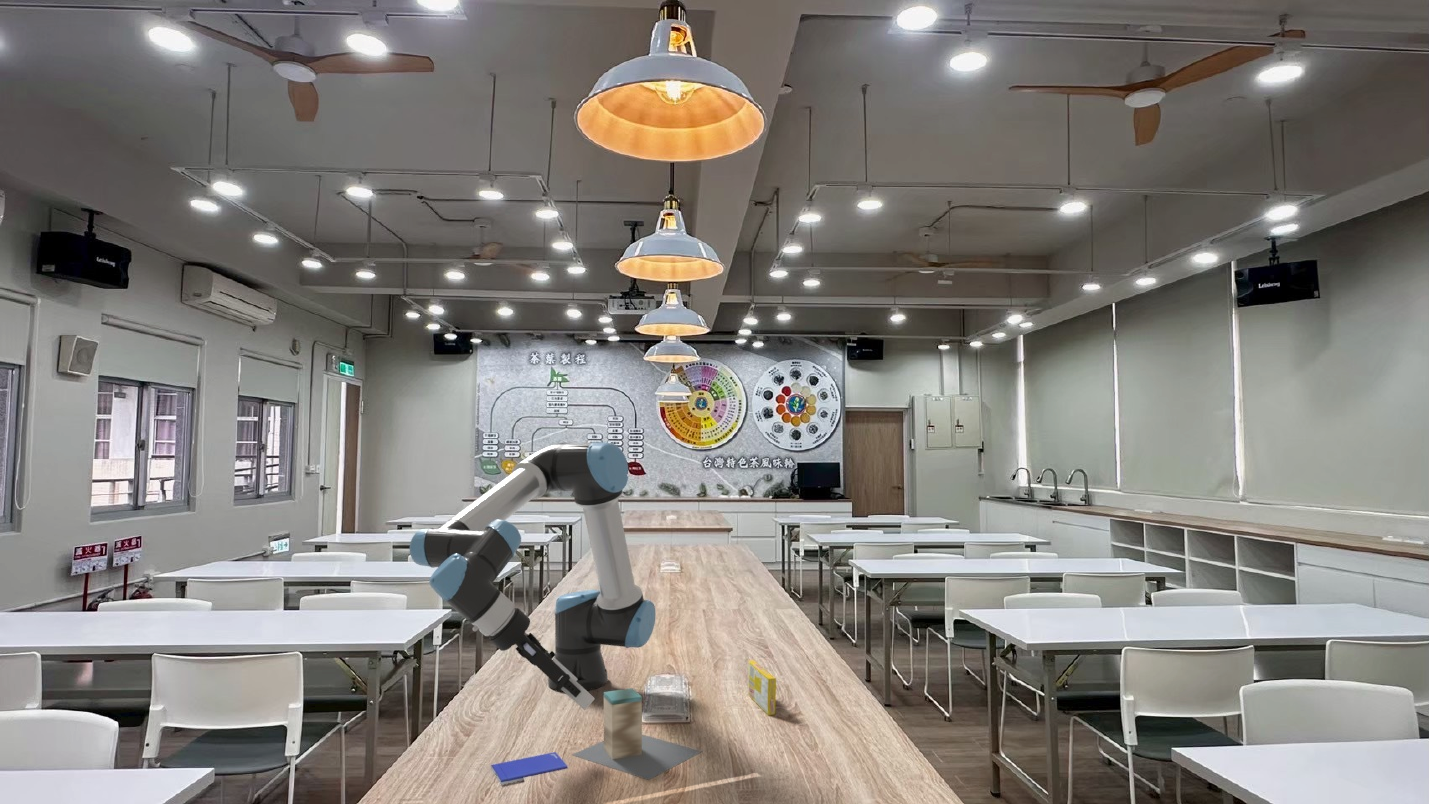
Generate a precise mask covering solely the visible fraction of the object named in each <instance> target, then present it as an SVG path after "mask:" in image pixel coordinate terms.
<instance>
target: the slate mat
mask: <svg viewBox="0 0 1429 804" xmlns="http://www.w3.org/2000/svg"><path fill="white" fill-rule="evenodd" d="M701 753H703V751H702V750H700V749H695V748H692V747H689V746H686V745H681V744H678V743H674V742H670V741H666V740H663V739H660V738H656V737H652V736H649V735H646V734H642V754H640V755H634V756H628V757H623V758H617V759H612V758H611V757H610V756H609V755H608V753H607V752H606V751H605V749H604V740H603V741H600V742H598V743H596V744H594V745H591V746H589V747H586V748H584V749H582V750H579V751H577V752H575V753H573V754H571V756H574V757H577V758H579V759H581V760H582V759H583V760H586V761H589V762H592V763H595V764H598V765H601V766H604V767H607V768H610V769H614V770H617V771H619V772H623V773H626V774H630V775H633V776H635V777H639V778H641V779H645V780H648V781H650V780H651V779H654V778H655V777H657V776H659V775H661V774H663V773H665V772H667V771H669V770H670V769H673V768H674V767H676V766H678V765H680V764H682V763H684V762H685V761H687V760H689V759H691V758H693V757H695V756H696V755H699V754H701Z"/></svg>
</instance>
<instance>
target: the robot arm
mask: <svg viewBox="0 0 1429 804" xmlns="http://www.w3.org/2000/svg"><path fill="white" fill-rule="evenodd" d="M628 475H629V464H628V461H627V458H626V456H625V454H624V452H623V450H622V449H621V448H620V447H619V446H617V445H616V444H614V443H611V442H602V441H595V442H592V441H591V442H559V443H553V444H550V445H548V446H546V447H544V448H541V449H540V450H539V449H538V450H537V451H535V452H533V453H532V454H530V455H528V456H526V457H525V458H523V459H522V460H521V461H520V462H518V463H517V464H515V465H514V466H513V468H512V470H511V473H510V474H509V475H507V476H506V477H505V478H504V479H502V480H501V481H500V482H498V483H497V484H496V485H494V486H492V487H491V488H490V489H489V490H487V491H486V492H485V493H483V494H481V496H479V497H478V498H476V499H475V500H473V501H472V502H471V503H469V504H468V505H467V506H465V507H464V508H463V509H462V510H460V511H459V512H457V513H456V514H455V515H453V516H452V517H451V518H449V519H448V520H447V521H445V522H444V523H443V524H441V525H440V526H438V527H437V528H434V527H429V528H422V529H419V530H417V531H416V532H415V533H414V534H413V536H412V538H411V539H410V540H411V541H410V543H409V554H410V557H411V560H412V561H413V562H414V563H415V564H417V565H418V566H424V567H429V568H436V570H435V571H434V572H433V573H432V574H431V576H430V577H429V586H430V587H431V588H432V590H433V591H434V592H435V593H436V594H437V595H438V596H439V597H440V598H441V600H442V601H443V602H446V603H447V604H448V606H449V605H450V606H451V607H452V608H453V610H455V611H456V612H457V613H459V614H460V615H461V617H463V618H464V619H465V620H466V621H468V622H469V623H470V624H471V625H473V627H472V631H473V632H477V631H478V630H479V632H480V633H481V634H482V635H483V636H485V637H488V640H489V641H490V642H491V643H492V644H493V645H494V646H495V647H496V648H498V649H499V651H502V652H505V651H507V650H510V649H511V648H512V647H513V646H515V645H516V646H517V647H516V648H515V650H516V652H517V653H518V654H519V656H521V657H522V658H524V659H526V660H527V661H528V662H529V663H530V664H531V665H532V666H534V667H535V666H536V667H537V668H538V669H539V670H540V671H541V672H542V673H543V674H544V675H545V676H547V681H548V682H547V683H548V687H549V688H550V689H552V690H554V691H556V692H560V691H561V692H564V693H565V694H566V695H567V697H569V698H570V699H571V700H572V701H573V702H575V703H576V704H577V706H579V707H580V708H581V709H582V710H583V711H586V710H587V709H588V707H589V706H591V704H592V703H593V702H594V700H595V697H594V696H593V695H592V694H591V693H590V692H589V691H590V690H594V689H598V688H601V687H603V686H605V685H606V684H607V683H608V680H609V679H608V670H607V669H606V665H605V661H604V657H603V655H602V652H601V647H602V645H603V646H614V647H624V648H625V649H629V648H635V649H637V648H642V647H643V646H645V645H646V644H647V643H648V641H649V640H650V638H651V636H652V634H653V631H654V628H655V624H656V617H657V615H656V606H655V604H654V603H653V601H651V600H649V599H644V593H643V590H642V588H641V587H640V586H639V585H636V584H635V580H634V575H633V570H632V565H631V560H630V554H629V549H628V545H627V539H626V533H625V529H624V524H623V519H622V515H621V513H622V512H621V510H620V509H621V508H620V504H619V499H620V498H621V496H622V495H623V491H624V489H625V487H626V486H627V484H628V481H629V477H628ZM560 491H561V492H562V491H563V492H572V494H573V499H574V502H575V504H576V505H577V506H579V507H581V508H582V510H583V515H584V519H585V524H586V529H587V533H588V538H589V543H590V547H591V552H592V556H593V562H594V565H595V567H594V568H595V571H596V575H597V576H596V577H597V582H598V587H599V589H588V590H580V591H575V592H569V593H565V594H563V595H560V596H559V597H557V598H556V601H555V607H554V621H555V622H554V623H555V624H554V629H555V630H554V631H555V633H554V635H555V636H554V637H555V638H554V642H555V644H554V645H555V648H554V649H555V652H554V651H553V650H551V651H550V652H549V650H547V649H546V648H544V646H543V645H542V644H541V642H540V641H539V640H538V639H537V637H536V636H534V634H532V632H529V634H528V633H527V632H526V631H528V629H529V627H530V625H531V619H530V618H529V617H528V616H527V615H526V614H525V613H524V612H523V611H522V610H521V609H520V608H519V607H516V606H515V603H514V602H512V600H511V599H509V597H507V595H505V594H504V593H503V592H502V591H500V590H499V589H498V587H496V586H495V585H494V584H493V583H494V582H495V580H497V578H498V576H499V575H500V574H501V573H502V572H503V570H504V569H505V567H506V566H507V565H508V564H509V562H510V560H511V559H513V557H514V556H515V553H516V552H517V550H518V549H519V547H520V546H521V544H522V535H521V534H520V532H519V530H518V529H517V527H516V526H515V525H514V524H512V523H511V522H509V521H508V520H507V519H509V518H510V517H512V515H514V514H516V512H517V511H519V510H520V509H522V507H524V506H525V505H526V504H528V503H529V502H531V500H537V499H540V498H541V497H543V496H544V495H545V494H547V493H548V494H549V493H553V492H560Z"/></svg>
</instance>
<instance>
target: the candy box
mask: <svg viewBox="0 0 1429 804" xmlns="http://www.w3.org/2000/svg"><path fill="white" fill-rule="evenodd" d="M776 684H777V677H775V676H773V674H771V673H769V672H768V671H767V670H766V669H765V668H764V667H762V666H761V665H760V664H759V663H758V662H757V661H756V660H748V661H747V695H748V696H749V697H750V698H751V699H752V701H754V702H755V704H756V705H757V706H758V707H759V708H760V709H761V710H762V711H763V712H764V713H765V714H766V715H767V716H775V715H776V701H777V700H776V699H777V698H776V696H777V692H776V690H777V685H776Z"/></svg>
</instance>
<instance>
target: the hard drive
mask: <svg viewBox="0 0 1429 804" xmlns="http://www.w3.org/2000/svg"><path fill="white" fill-rule="evenodd" d="M491 769H492V770H491ZM565 769H568V765H567V763H566V762H565V761H564V760H563V759H562V757H560V756H559V754H558V753H557V752H556V751H554V752H548V753H543V754H539V755H533V756H529V757H528V756H527V757H524V758H519V759H514V760H510V761H505V762H500V763H495V764H491V765H490V770H491V772H492V771H493V772H492V774H493V775H494V774H495V775H496V777H497V778H496V777H495V778H496V779H498V780H499V781H498V780H497V781H498V783H499V782H500V783H499V785H500V784H501V785H500V786H505V785H504V784H506V785H509V784H508V783H511V784H514V783H513V782H515V783H517V782H516V781H520V782H522V781H521V780H525V778H527V777H531V776H532V777H533V776H536V775H541V774H546V773H550V772H555V771H559V770H561V771H562V770H565ZM495 775H494V776H495Z"/></svg>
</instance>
